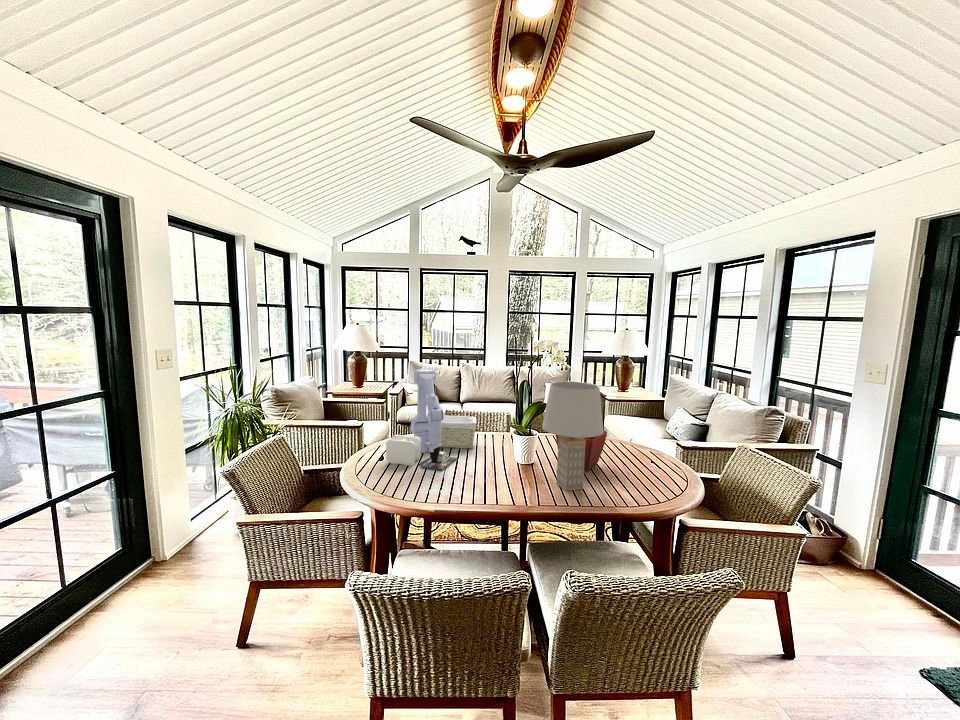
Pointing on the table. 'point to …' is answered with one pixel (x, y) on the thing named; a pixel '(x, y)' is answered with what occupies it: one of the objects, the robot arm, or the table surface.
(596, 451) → the plant pot
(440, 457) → the white and orange block
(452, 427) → the storage basket
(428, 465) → the panel
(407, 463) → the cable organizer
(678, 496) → the table surface
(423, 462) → the cords
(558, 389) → the lamp
